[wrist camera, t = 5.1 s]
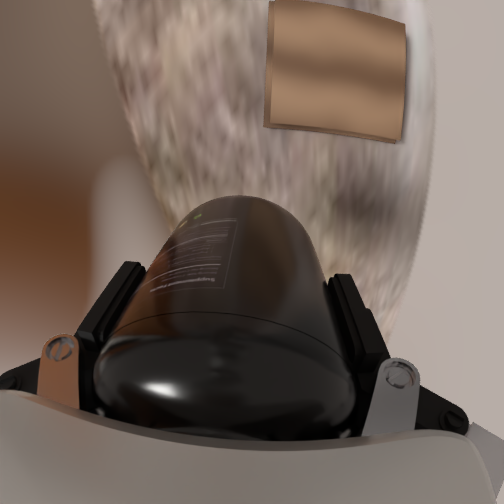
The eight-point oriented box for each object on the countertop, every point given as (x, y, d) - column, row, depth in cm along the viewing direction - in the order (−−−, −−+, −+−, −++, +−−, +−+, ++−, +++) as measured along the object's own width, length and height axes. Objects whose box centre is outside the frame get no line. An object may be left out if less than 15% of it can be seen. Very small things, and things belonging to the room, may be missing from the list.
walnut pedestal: (268, 4, 19) (269, -7, 16) (396, 27, 19) (409, 21, 16) (263, 126, 25) (263, 128, 23) (391, 142, 25) (404, 146, 22)
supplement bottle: (339, 275, 14) (414, 535, 3) (229, 334, 16) (204, 554, 5) (258, 157, 11) (233, 595, 1) (142, 244, 13) (5, 484, 3)
